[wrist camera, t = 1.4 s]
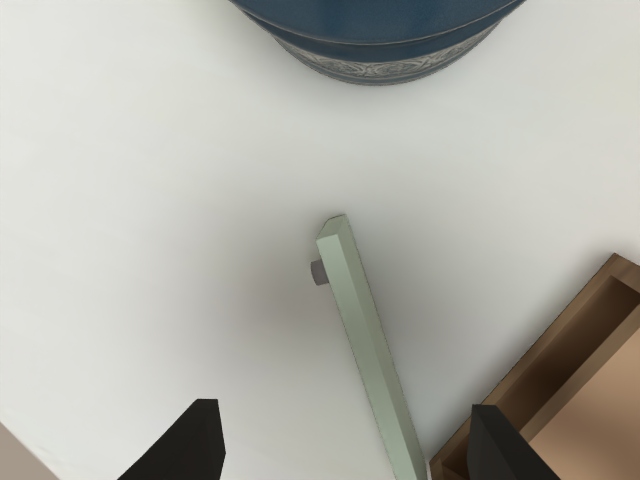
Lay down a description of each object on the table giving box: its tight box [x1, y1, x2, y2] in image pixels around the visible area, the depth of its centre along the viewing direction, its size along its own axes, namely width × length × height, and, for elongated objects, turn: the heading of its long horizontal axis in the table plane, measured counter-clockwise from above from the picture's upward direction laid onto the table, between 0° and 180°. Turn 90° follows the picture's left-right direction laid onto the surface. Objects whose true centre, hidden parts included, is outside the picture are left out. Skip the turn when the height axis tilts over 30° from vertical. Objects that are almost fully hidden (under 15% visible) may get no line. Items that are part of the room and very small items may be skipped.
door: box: [311, 214, 428, 480], centre depth 23 cm, size 16×2×5 cm, turn 19°
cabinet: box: [429, 253, 640, 480], centre depth 22 cm, size 16×10×5 cm, turn 149°
